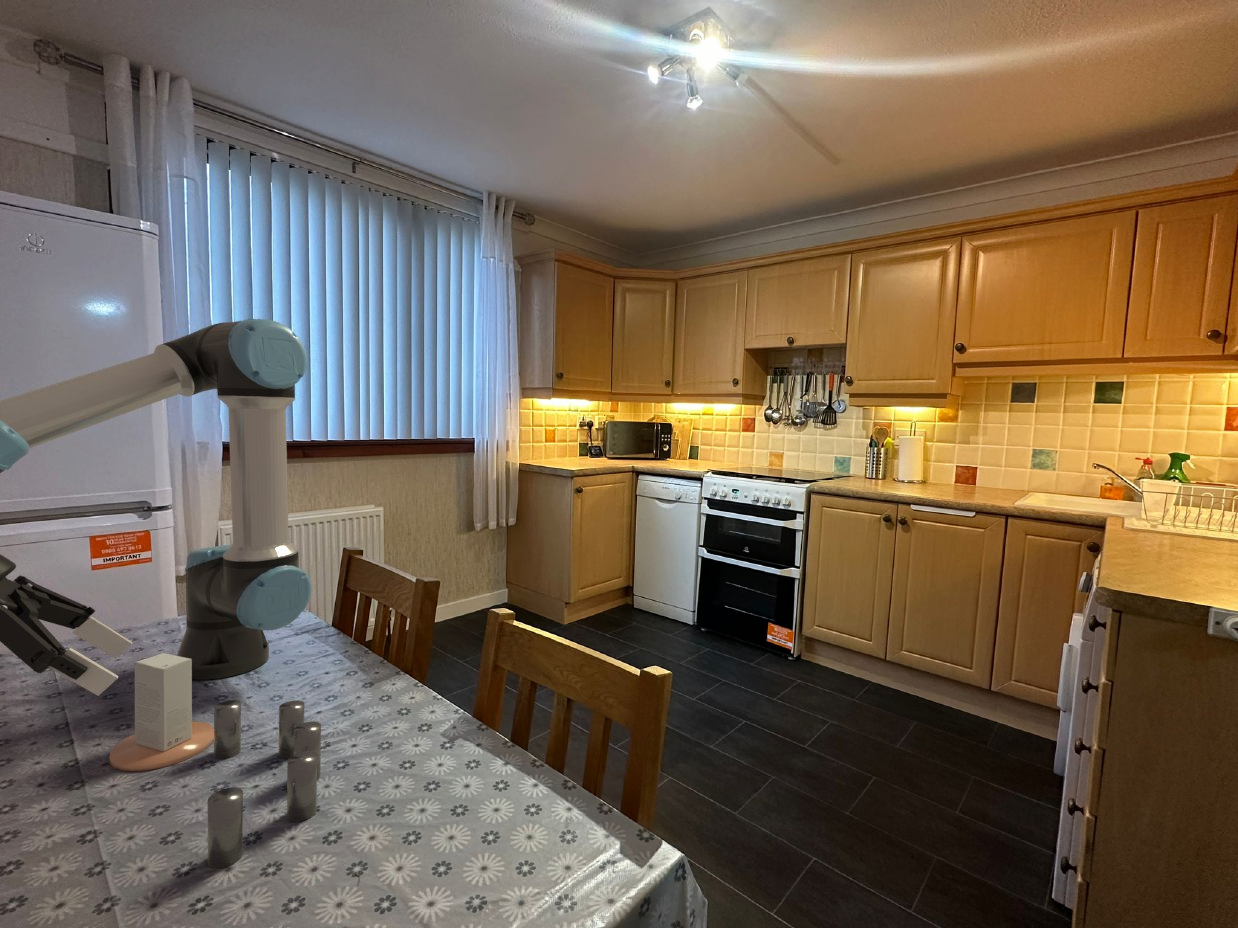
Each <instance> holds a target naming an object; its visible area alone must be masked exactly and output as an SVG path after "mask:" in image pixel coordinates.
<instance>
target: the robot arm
mask: <svg viewBox="0 0 1238 928" xmlns="http://www.w3.org/2000/svg"><path fill="white" fill-rule="evenodd" d="M304 345H305V344H304V343H303V342H302V340H301V339H300V337H299V336H298V335H296V333H295V332H294V331H293V330H292V329H291V328H289V327H288V326H286V325H285V324H283V323H280V322H279V321H276V320H271V319H264V318H262V319H261V318H247V319H243V320H238V321H232V322H231V321H230V322H218V323H215V324H210V325H208V326H206V327H203V328H201V329H198V330H196V331H194V332H192V333H190V334H186V335H184V336H181V337H179V338H176V339H173V340H170V341H167V342H164V343H161V344H157V345H156V346H155V348H154V351H153V353H150V354H148V355H144V356H141V357H137V358H134V359H132V360H128V361H125V362H124V361H123V362H121V363H119V364H118V363H117V364H114V365H112V366H109V367H104V368H102V369H98V370H95V371H91V372H89V373H86V374H83V375H80V376H77V377H73V378H70V379H67V380H63V381H59V382H57V383H54V384H50V385H47V386H44V387H41V388H36V389H34V390H31V391H28V392H25V393H21V394H19V395H14V396H11V397H9V398H4V399H2V400H0V474H1V473H3V472H5V470H10V469H11V468H12V467H13V465H15V464H16V463H17V462H18V461H19V460H21V459H22V458H23V457H25V456H26V455H27V454H28V453H29V451H30V449H31V448H35V447H36V446H37V447H38V446H40V445H42V444H45V443H48V442H50V441H51V442H52V441H53V440H56V439H59V438H62V437H64V436H67V435H69V434H73V433H75V432H78V431H81V430H83V429H87V428H89V427H92V426H94V425H97V424H100V423H103V422H105V421H109V420H111V419H114V418H116V417H120V416H122V415H125V414H128V413H130V412H133V411H136V410H138V409H141V408H143V407H146V406H150V405H151V404H155V403H157V402H161V401H163V400H166V399H169V398H171V397H174V396H177V395H181V396H183V397H186V398H187V397H191V396H194V395H197V394H200V393H203V392H206V391H211V390H217V391H216V393H217V395H216V396H217V398H218V399H219V400H220V401H221V402H222V403H223V404H224V405H226V407H227V408H228V428H229V429H228V433H229V434H228V435H229V437H228V438H229V460H230V463H229V464H230V465H229V466H230V491H231V492H230V493H231V521H232V522H231V524H232V525H231V528H232V544H226V545H216V546H210V547H203V548H197V549H195V550H192V551H191V552H189V553H188V554H187V556H186V566H185V569H184V571H185V593H186V594H185V599H186V600H185V602H186V611H185V612H186V615H185V617H186V619H185V620H186V622H185V623H186V628H185V632H184V636H183V637H182V640H181V643H180V646H179V649H178V651H177V655H176V656H179V657H184V658H189V659H192V680H201V681H202V680H213V679H215V680H217V679H221V678H223V679H224V678H229V677H232V676H237V675H241V674H244V673H248V672H250V671H253V670H255V669H258V668H259V667H261V666H263V665H264V664H265V663H266V662H268V660H269V659H270V658H269V657H270V647H269V646H270V645H269V643H268V641H267V638H266V635H265V633H264V631H274V630H275V631H276V630H278V629H282V628H284V627H286V626H288V625H291V623H293V622H294V621H295V620H297V619H298V618H299V616H300V615H301V613H302V612H304V611H305V609H306V608H307V607H308V604H309V603H310V600H311V597H312V592H313V589H312V588H313V586H312V581H311V579H310V576H309V575H308V574H307V573H306V572H305V571H304V570H303V569H302V568H301V567H300V565H299V564H300V563H299V561H300V559H299V556H300V555H299V547H298V546H296V545H295V544H294V543H293V542H291V541H290V539H289V538H290V536H289V499H288V498H289V496H288V495H289V494H288V493H289V491H288V453H287V452H288V451H287V412H286V411H287V408H288V407H289V406H290V405H291V404H292V403H293V402H294V401H296V384H297V383H299V381H300V380H301V378H303V377H304V376H305V373H306V371H307V368H308V355H307V351H306V347H305V346H304ZM15 569H17V564H16V563H15V562H13V561H12V560H10V559H9V558H7V557H5V556H4V555H2V554H1V553H0V643H2V644H3V645H4V646H5V648H7V649H8V650H9V651H10V652H12V653H13V654H14V655H15V656H16V657H17V658H19V660H20V661H22V662H23V663H24V664H25V665H27V666H28V667H29V668H30V669H31V670H33V671H34V672H36V673H37V674H42V673H44V672H45V671H46V670H47V669H48V668H49V669H50V670H52V671H53V672H55V673H57V674H59V675H61V676H63V678H66V679H68V680H70V681H71V682H73V683H75V684H76V685H78V686H80V687H81V688H84V689H86V691H89V692H91V693H92V694H94V695H96V696H98V697H99V696H100V695H101V694H102V693H104V691H106V690H107V689H108V688H109V687H110V686H111V685H112V684H113V683H114V682H116V681H117V680H118V679H119V675H117V674H116V673H114V672H113V671H111V670H109V669H107V668H106V667H104V666H102V665H100V663H97V662H95V661H94V660H92V659H90V658H89V657H87V656H85V655H83V654H82V653H81V652H78V651H77V650H75V649H74V648H72V647H69V648H68V649H67V650H66V648H65V647H64V646H63V644H61V642H60V641H59V640H58V639H57V638H56V637H55V636H54V635H53V633H51V631H49V629H48V628H47V627H46V626H45V625H44V624H43V622H47V623H51V624H53V625H57V626H61V627H64V628H69V629H71V630H73V632H72V634H74V635H76V636H77V637H79V638H80V639H81V640H84V641H85V642H87V643H88V644H89V645H92V646H93V647H95V648H96V649H99V650H100V651H101V652H104V653H105V654H107V655H108V656H109V657H111V658H112V659H113V658H114V659H117V658H118V657H119V656H121V654H122V653H123V652H124V651H126V649H128V648H129V647H131V645H132V644H133V641H132V640H130V639H129V638H127V637H125V636H123V635H122V634H120V633H118V632H117V631H115V630H114V629H112V628H110V627H109V626H107V625H106V624H104V623H103V622H101V621H100V620H99V619H96V618H95V617H93V616H92V615H93V614H94V613H96V610H95V609H94V608H93V607H91V606H87V605H85V604H82V603H80V602H77V601H76V600H73V599H71V598H69V597H67V596H65V595H62V594H60V593H57V592H56V591H53V590H52V589H49V588H47V587H44V586H42V585H39V584H37V583H36V582H34V581H32V580H31V579H28V578H27V577H26V576H23V575H22V574H21V575H18V576H17V577H16V578H14V579H13V580H11V579H8V578H7V577H8V575H10V574H11V573H12V572H13V571H15ZM41 621H43V622H41Z"/></svg>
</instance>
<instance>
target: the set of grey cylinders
mask: <svg viewBox="0 0 1238 928" xmlns="http://www.w3.org/2000/svg"><path fill="white" fill-rule="evenodd" d="M213 710H214V711H213V728H214V740H213V757H214V758H215V759H218V760H223V759H224V760H225V759H229V758H233V757H235V756H237V755H238V754H239V753H240V752H241V751H242V744H241V743H242V739H241V738H242V701H240V700H238V699H228V700H224V701H221V702H218V703H217V704H215V705H214V707H213ZM321 741H322V724H321V723H320V722H318V721H314V720H313V721H306V722H305V702H304V701H303V700H290V701H286V702H283V703H282V704H280V705H279V706H278V757H279V758H280V759H283V760H284V759H285V760H287V763H286V764H287V769H286V770H287V772H286V773H287V774H286V775H287V776H286V777H287V779H286V780H287V781H286V819H287V820H288V821H289V822H293V823H301V822H304V821H306V820H309V819H311V818H312V817H313V816H315V814H316V813H317V805H318V804H317V800H318V799H317V798H318V797H317V796H318V795H317V794H318V791H317V790H318V780H319V779H320V778H321V766H322V765H321V764H322V763H321V760H322V759H321V758H322V756H321V754H322V753H321V751H322V750H321V749H322V742H321ZM243 792H244V790H243V789H242V788H240V787H235V786H234V787H226V788H222V789H220V790H216V791H215V792H214V793H212V794H211V795H210V796H208V799H207V866H208V867H209V868H210V869H214V870H215V869H216V870H217V869H223V868H226V867H230V866H231V865H234V864H236V863H237V862H238V861H239V860H240V859H241V858H242V856H243V851H244V850H243V848H244V847H243V845H244V843H243V842H244V840H243V839H244V838H243V836H244V835H243V834H244V821H243V820H244V793H243Z"/></svg>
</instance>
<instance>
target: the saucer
mask: <svg viewBox="0 0 1238 928" xmlns="http://www.w3.org/2000/svg"><path fill="white" fill-rule="evenodd" d="M213 743H214V726H213V725H211V724H210V723H207V722H202V721H195V720H194V721H193V720H192V738H191V739H189V740H187V741H185V742H183V743H181V744H179V745H177V746H174V747H172V748H170V749H168V750H166V751H164V752H162V751H159V750H156V749H152V748H149V747H145V746H142V745H138V744H135V733H133V734H131V735H129V736H127V737H126V738H124V739H122V740H121V741H119V742H118V743H116V744H115V746H113V747H112V748H111V750H110V753H109V764H110V765H111V767H113V768H114V769H117V770H120V771H124V772H129V771H130V772H140V771H141V772H142V771H151V770H157V769H161V768H166V767H169V766H172V765H176V764H179V763H182V762H184V761H187V760H188V759H191V758H193V757H195V756H197V755H198V754H200V753H203V752H205V750H206V749H207V748H208V747H210V746H211V745H212V744H213Z"/></svg>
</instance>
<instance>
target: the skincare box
mask: <svg viewBox="0 0 1238 928" xmlns="http://www.w3.org/2000/svg"><path fill="white" fill-rule="evenodd" d="M192 680H193V679H192V659H189V658H184V657H179V656H177V655H174V654H171V653H165V652H163V653H159V654H157V655H154V656H151V657H147V658H144V659H141V660H140V659H139V660H137V661H135V662H134V734H135V744H138V745H142V746H145V747H149V748H152V749H156V750H159V751H162V752H164V751H166V750H168V749H170V748H172V747H174V746H177V745H179V744H181V743H183V742H185V741H187V740H189V739H191V738H192V721H193V713H192V712H193V709H192V708H193V705H192V704H193V696H192V695H193V687H192V686H193V684H192V683H193V682H192Z"/></svg>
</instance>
